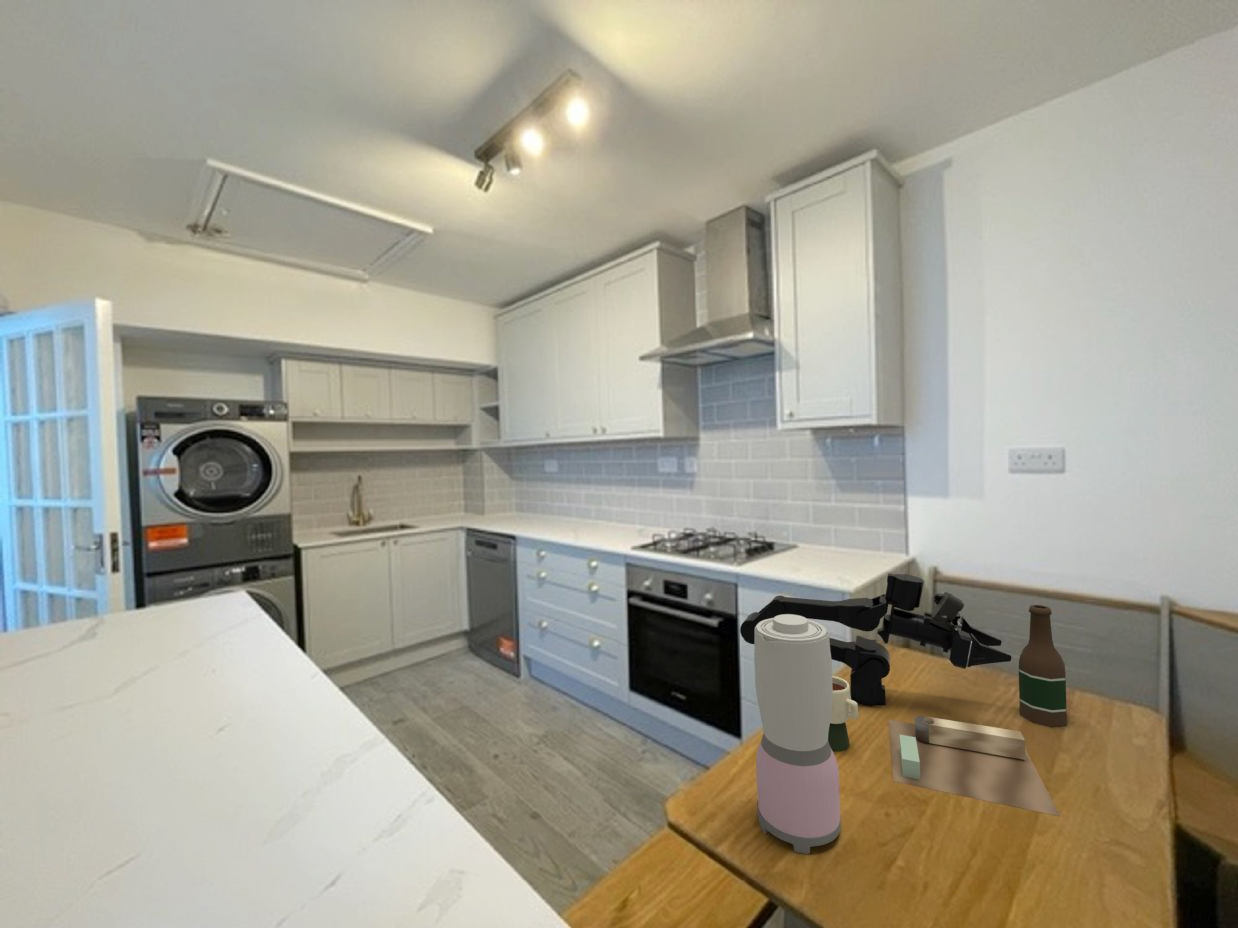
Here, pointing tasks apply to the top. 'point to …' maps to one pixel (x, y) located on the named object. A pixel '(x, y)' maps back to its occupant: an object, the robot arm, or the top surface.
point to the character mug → (841, 715)
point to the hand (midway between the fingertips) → (1005, 650)
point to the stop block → (909, 757)
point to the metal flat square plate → (972, 773)
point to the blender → (795, 733)
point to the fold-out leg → (970, 736)
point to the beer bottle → (1042, 674)
